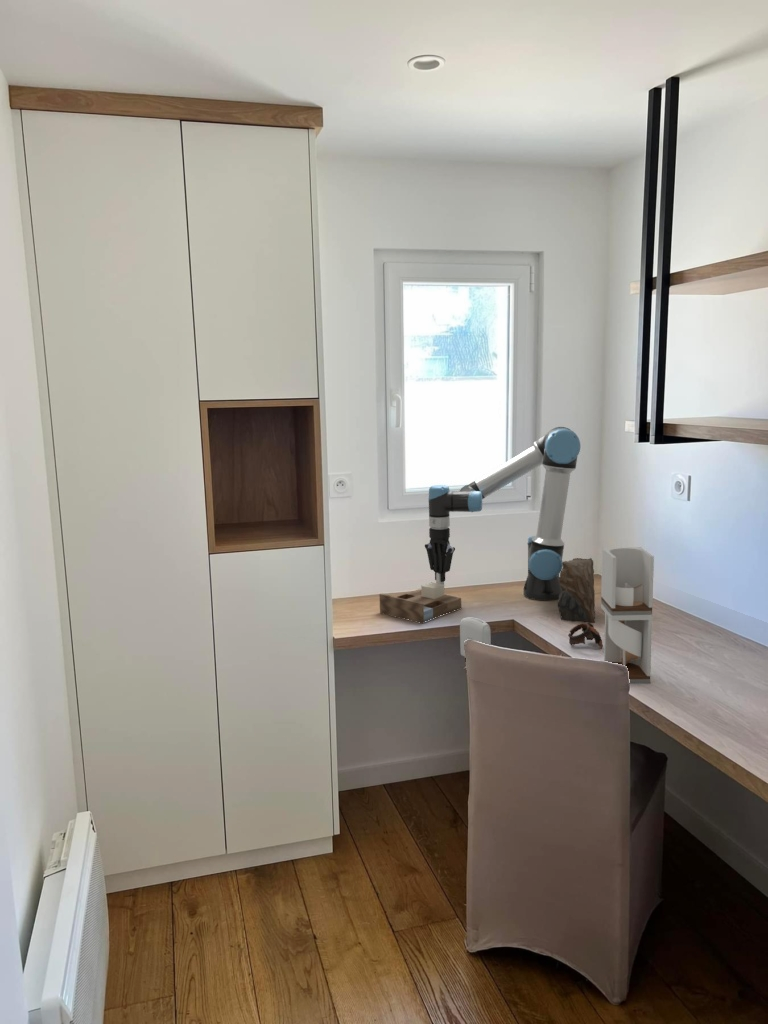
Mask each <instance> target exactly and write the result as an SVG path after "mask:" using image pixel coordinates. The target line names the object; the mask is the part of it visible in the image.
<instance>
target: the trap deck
mask: <svg viewBox="0 0 768 1024" xmlns="http://www.w3.org/2000/svg"><path fill="white" fill-rule="evenodd" d="M378 597H379V613H380V614H382V613H384V614H383V615H386V614H387V616H390V615H392V617H394V616H396V617H395V618H398V617H400V618H399V619H402V618H405V619H404V620H406V619H409V620H408V621H410V620H412V621H411V622H414V621H417V622H416V623H418V622H420V623H419V624H424V623H423V622H425V621H428V620H430V619H433V618H435V617H438V616H440V615H443V614H446V613H449V612H451V613H453V612H452V611H454V610H456V611H458V610H457V609H459V610H461V609H462V598H461V597H459V596H458V597H457V596H455V595H454V596H453V595H448V594H445V593H444V596H441V597H438V598H436V599H432V598H427V597H423V596H422V595H421V588H418V589H415V590H413V591H409V592H407V593H404V594H401V595H397V596H394V595H390V594H385V593H379V596H378ZM460 608H461V609H460ZM454 612H455V611H454ZM449 614H450V613H449ZM446 615H447V614H446ZM443 616H444V615H443ZM438 618H439V617H438ZM435 619H436V618H435ZM433 620H434V619H433ZM430 621H431V620H430ZM428 622H429V621H428ZM425 623H426V622H425Z"/></svg>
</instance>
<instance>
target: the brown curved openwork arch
mask: <svg viewBox="0 0 768 1024" xmlns="http://www.w3.org/2000/svg"><path fill="white" fill-rule="evenodd" d="M579 630H581V631H582V633H580V634H578V635H574V634H575V633H576V632H578V631H579ZM567 637H568V638H569V641H568V642H569V644H570V646H573V645H579V644H583V645H586V640H587V641H593V640H594V643H595V644H596V645H598V646H599V649H600V650H603V647H604V645H603V639H602V637H601V635H600V632H599V631H598V630H597V629H596V628H595V627H594V624H593V623H584V622H581V623H579V624H576V625H575V626H573V627H572V628H571V629H570V630H569V633H568V635H567Z"/></svg>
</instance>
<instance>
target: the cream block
mask: <svg viewBox="0 0 768 1024" xmlns="http://www.w3.org/2000/svg"><path fill="white" fill-rule="evenodd" d="M420 586H421V587H420V589H421V595H422V596H423V597H427V598H432V599H436V598H438V597H441V596H444V594H445V584H444V585H442V584H437V583H436V582H429V583H425V584H423V585H420Z"/></svg>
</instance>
